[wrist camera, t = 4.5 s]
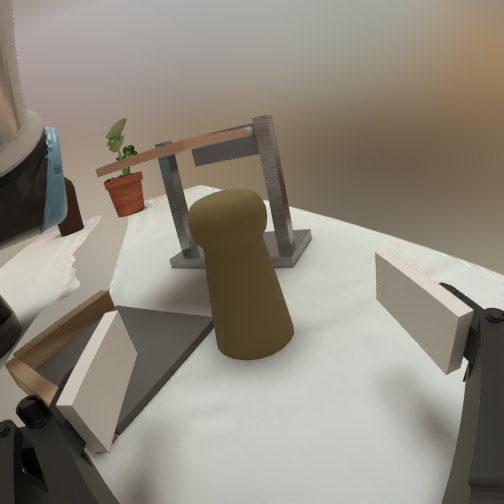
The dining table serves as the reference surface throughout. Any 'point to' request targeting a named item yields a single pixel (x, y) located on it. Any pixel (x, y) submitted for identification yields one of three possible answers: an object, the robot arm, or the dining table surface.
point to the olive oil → (71, 212)
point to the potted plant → (124, 177)
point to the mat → (140, 353)
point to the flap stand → (284, 237)
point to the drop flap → (199, 149)
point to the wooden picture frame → (55, 346)
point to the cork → (240, 274)
